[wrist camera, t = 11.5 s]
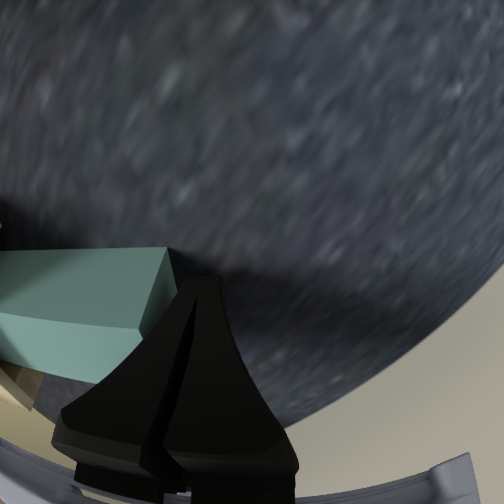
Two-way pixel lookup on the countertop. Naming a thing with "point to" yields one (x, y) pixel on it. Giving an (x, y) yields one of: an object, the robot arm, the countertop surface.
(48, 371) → the mint green rectangular prism
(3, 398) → the block
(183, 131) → the countertop surface
